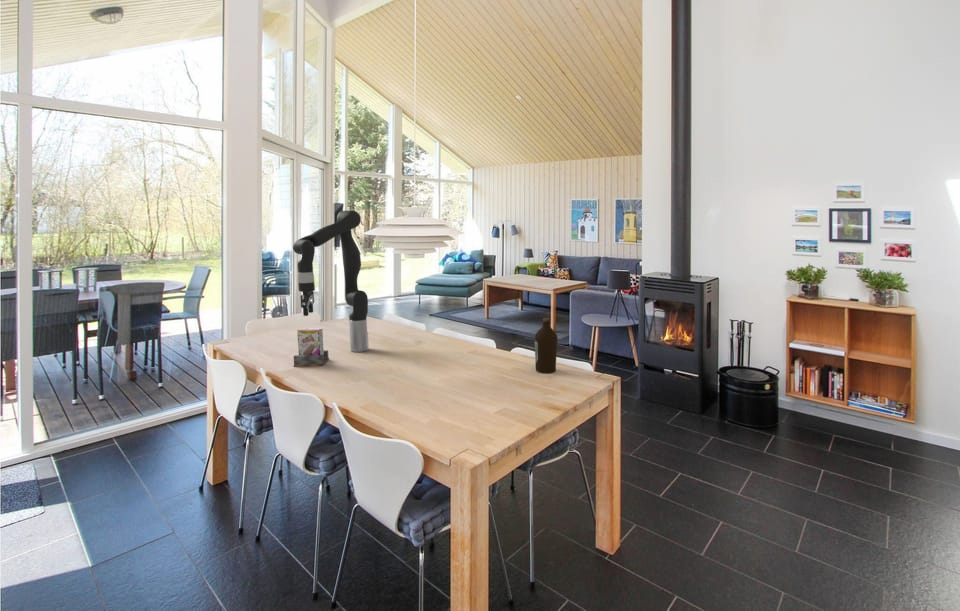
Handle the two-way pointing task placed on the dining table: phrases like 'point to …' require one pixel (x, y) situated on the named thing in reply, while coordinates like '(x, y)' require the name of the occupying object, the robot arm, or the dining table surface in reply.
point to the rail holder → (311, 360)
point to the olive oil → (545, 348)
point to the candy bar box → (310, 341)
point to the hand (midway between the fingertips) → (308, 314)
